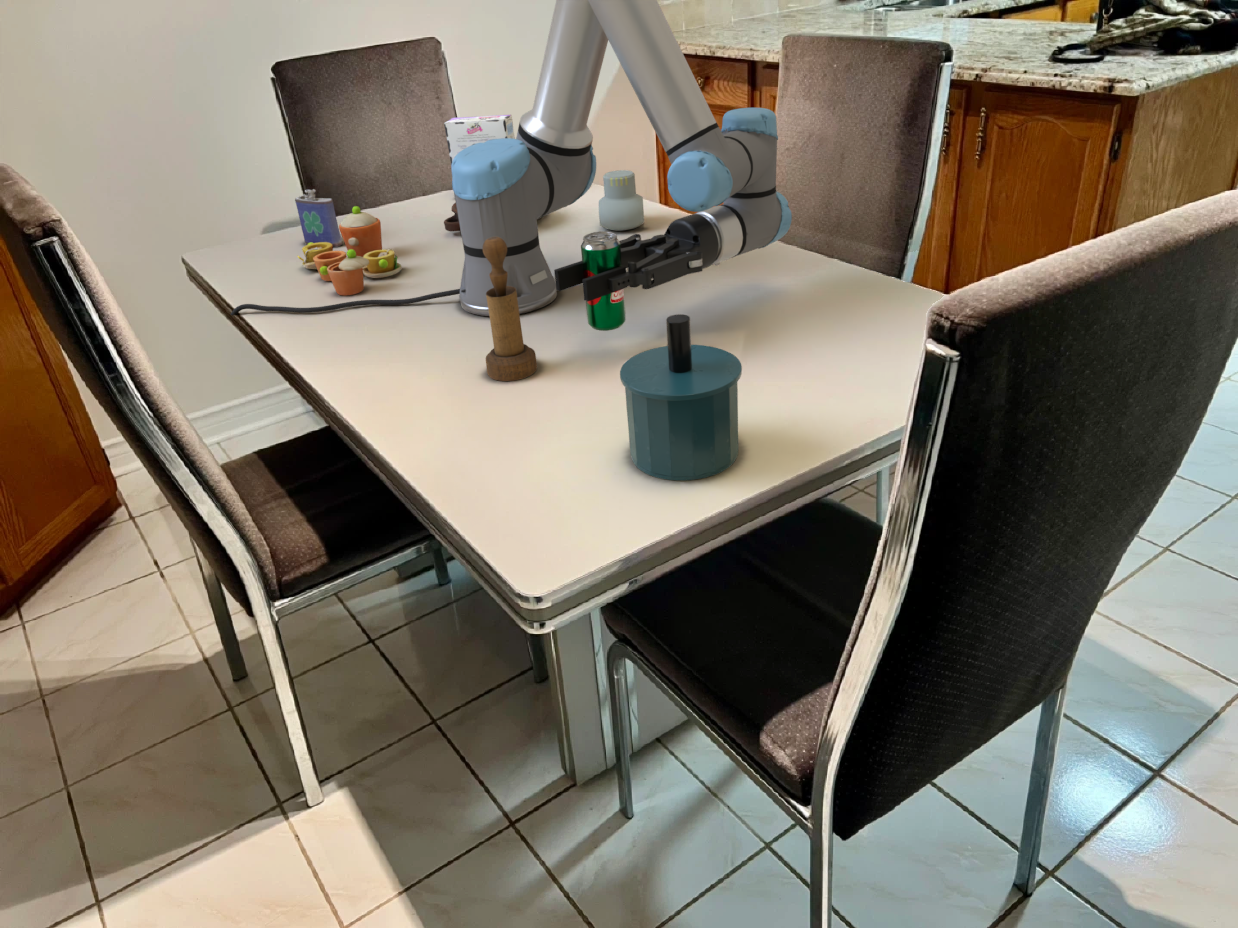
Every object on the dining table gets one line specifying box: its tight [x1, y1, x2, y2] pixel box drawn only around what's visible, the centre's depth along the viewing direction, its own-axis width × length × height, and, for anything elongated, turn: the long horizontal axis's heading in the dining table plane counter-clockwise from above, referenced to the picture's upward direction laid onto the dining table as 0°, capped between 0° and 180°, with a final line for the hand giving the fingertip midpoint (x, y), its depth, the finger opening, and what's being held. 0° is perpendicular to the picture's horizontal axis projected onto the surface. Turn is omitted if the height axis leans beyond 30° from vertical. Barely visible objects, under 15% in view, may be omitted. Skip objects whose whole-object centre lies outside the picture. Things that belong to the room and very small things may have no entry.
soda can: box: [580, 231, 627, 332], centre depth 122 cm, size 5×5×12 cm
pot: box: [624, 382, 739, 482], centre depth 100 cm, size 12×12×10 cm
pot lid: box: [619, 313, 743, 401], centre depth 96 cm, size 13×13×7 cm
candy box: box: [443, 114, 516, 166], centre depth 205 cm, size 14×6×16 cm, turn 79°
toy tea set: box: [297, 205, 402, 296], centre depth 165 cm, size 26×16×10 cm, turn 29°
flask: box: [294, 188, 343, 248], centre depth 182 cm, size 9×3×11 cm, turn 61°
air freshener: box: [598, 169, 645, 232], centre depth 177 cm, size 11×8×10 cm
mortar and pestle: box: [483, 237, 538, 382], centre depth 120 cm, size 7×6×18 cm
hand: (571, 285), depth 119 cm, fingers closed on soda can, 5 cm apart
